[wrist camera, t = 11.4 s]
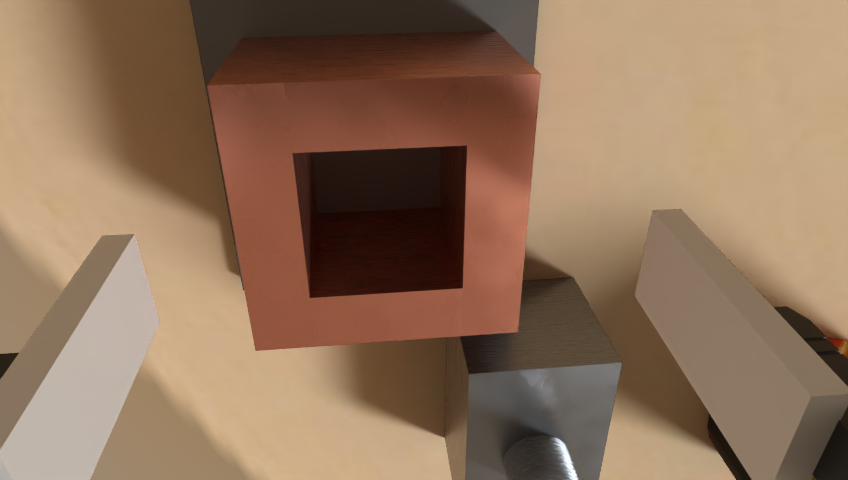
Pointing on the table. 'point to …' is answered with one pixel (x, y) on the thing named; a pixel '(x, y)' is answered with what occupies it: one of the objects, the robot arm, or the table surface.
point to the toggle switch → (532, 392)
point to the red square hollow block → (379, 229)
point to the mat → (347, 15)
